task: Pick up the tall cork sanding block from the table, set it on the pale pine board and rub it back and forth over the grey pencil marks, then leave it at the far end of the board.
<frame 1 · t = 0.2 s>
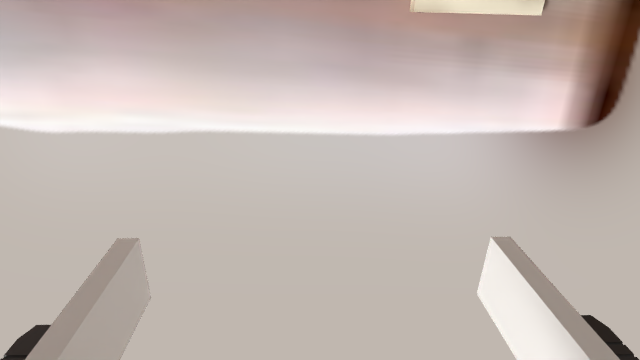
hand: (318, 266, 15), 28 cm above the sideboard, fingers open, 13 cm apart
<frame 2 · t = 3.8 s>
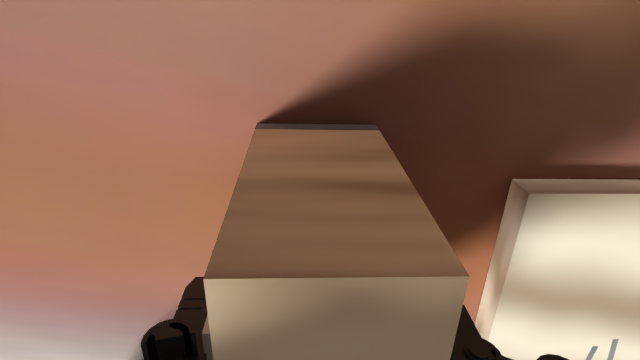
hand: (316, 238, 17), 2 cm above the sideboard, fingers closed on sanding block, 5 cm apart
sanding block: (314, 216, 18), on the sideboard, touching gripper
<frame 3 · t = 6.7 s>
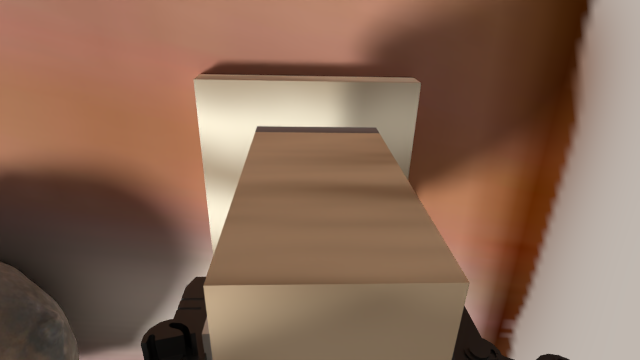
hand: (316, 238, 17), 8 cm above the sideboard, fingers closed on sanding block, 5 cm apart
board: (306, 251, 27), on the sideboard
bowl: (10, 299, 28), on the sideboard
sanding block: (314, 219, 18), point 7 cm above the sideboard, touching gripper
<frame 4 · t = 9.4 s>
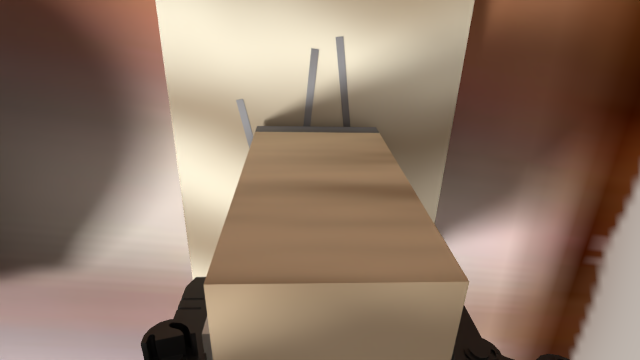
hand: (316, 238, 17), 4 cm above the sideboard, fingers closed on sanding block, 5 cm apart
board: (313, 112, 18), on the sideboard
sanding block: (314, 219, 18), point 2 cm above the sideboard, touching gripper
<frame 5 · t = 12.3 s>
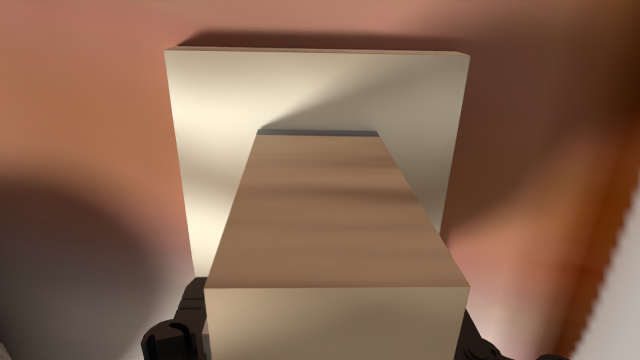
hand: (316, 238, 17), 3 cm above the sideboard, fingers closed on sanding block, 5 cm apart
board: (314, 276, 22), on the sideboard
sanding block: (315, 222, 18), point 2 cm above the sideboard, touching gripper
when the fingers open (3 cm above the sideboard, at t = 14.9 s): sanding block stays where it is, resting on board.
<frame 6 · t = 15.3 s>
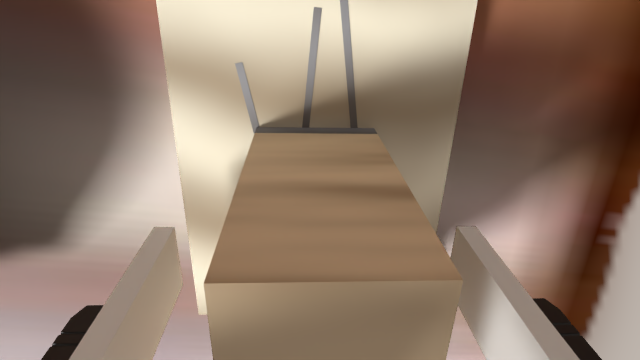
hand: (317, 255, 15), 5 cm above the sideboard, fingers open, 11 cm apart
board: (316, 80, 17), on the sideboard
sanding block: (314, 219, 18), point 2 cm above the sideboard, touching board
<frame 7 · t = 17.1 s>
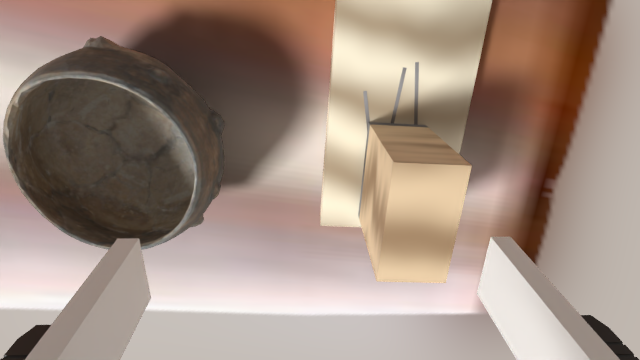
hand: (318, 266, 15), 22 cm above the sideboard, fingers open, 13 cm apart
board: (396, 100, 34), on the sideboard
bowl: (158, 131, 35), on the sideboard
sanding block: (390, 172, 35), point 2 cm above the sideboard, touching board
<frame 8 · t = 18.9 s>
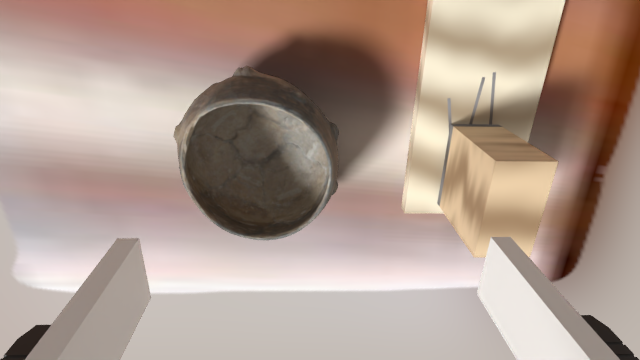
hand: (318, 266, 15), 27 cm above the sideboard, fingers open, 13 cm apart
board: (472, 104, 40), on the sideboard
bowl: (267, 138, 41), on the sideboard
sanding block: (466, 165, 41), point 2 cm above the sideboard, touching board
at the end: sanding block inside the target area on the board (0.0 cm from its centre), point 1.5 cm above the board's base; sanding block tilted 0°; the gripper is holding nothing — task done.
